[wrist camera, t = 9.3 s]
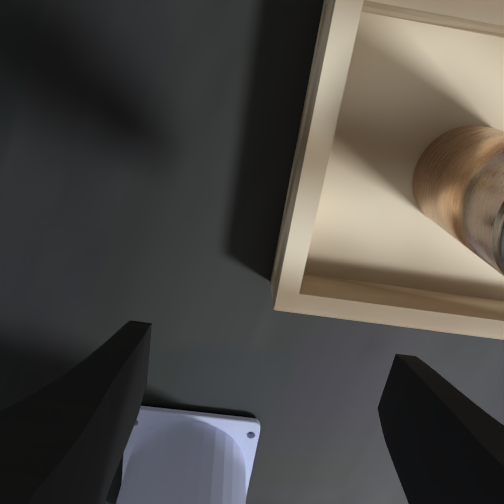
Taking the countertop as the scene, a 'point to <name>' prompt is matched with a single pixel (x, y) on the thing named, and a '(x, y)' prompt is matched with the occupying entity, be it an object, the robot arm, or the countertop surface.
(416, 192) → the can
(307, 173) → the tray
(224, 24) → the countertop surface
